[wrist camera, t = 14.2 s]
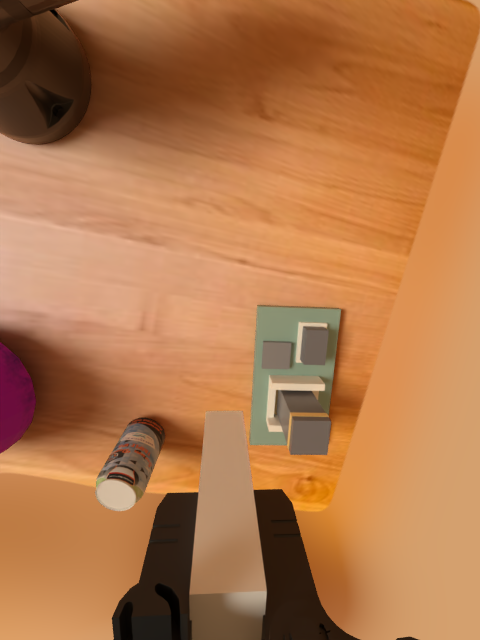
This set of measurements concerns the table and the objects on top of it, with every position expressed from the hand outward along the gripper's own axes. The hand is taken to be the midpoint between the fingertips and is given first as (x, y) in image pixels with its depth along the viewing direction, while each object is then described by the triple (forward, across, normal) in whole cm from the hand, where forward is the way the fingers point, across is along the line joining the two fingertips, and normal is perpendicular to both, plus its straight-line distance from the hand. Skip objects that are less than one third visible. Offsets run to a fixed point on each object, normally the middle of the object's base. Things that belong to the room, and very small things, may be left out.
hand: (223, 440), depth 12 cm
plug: (+30, +11, -14) cm, 35 cm away
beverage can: (+31, -12, -21) cm, 40 cm away
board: (+31, +11, -12) cm, 35 cm away
